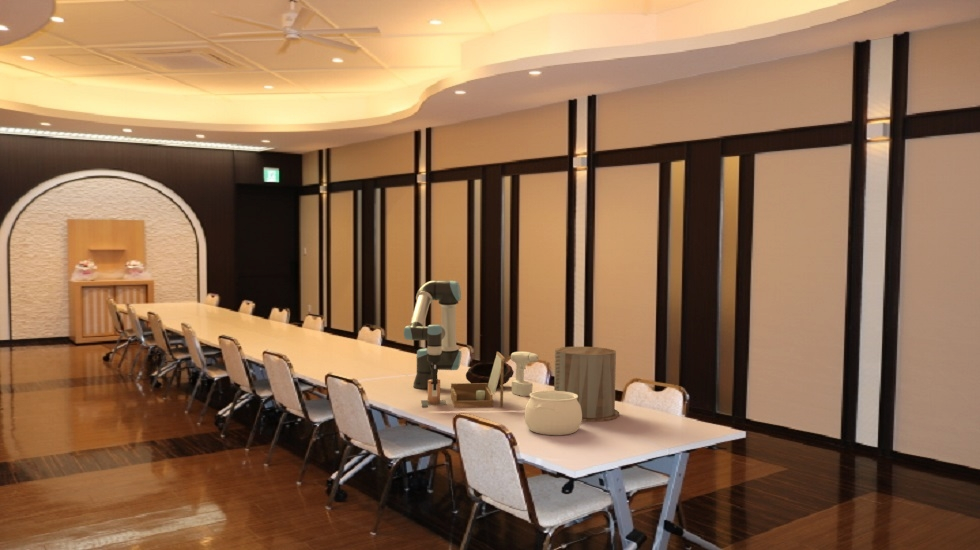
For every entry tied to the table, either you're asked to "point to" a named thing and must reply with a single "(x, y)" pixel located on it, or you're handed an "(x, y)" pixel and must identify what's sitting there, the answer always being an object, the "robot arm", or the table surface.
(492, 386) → the lid
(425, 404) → the slate tile
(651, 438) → the table surface
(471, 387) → the cold frame
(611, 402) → the storage basket
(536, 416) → the pot
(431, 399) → the terracotta pot
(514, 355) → the power drill
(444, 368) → the robot arm
